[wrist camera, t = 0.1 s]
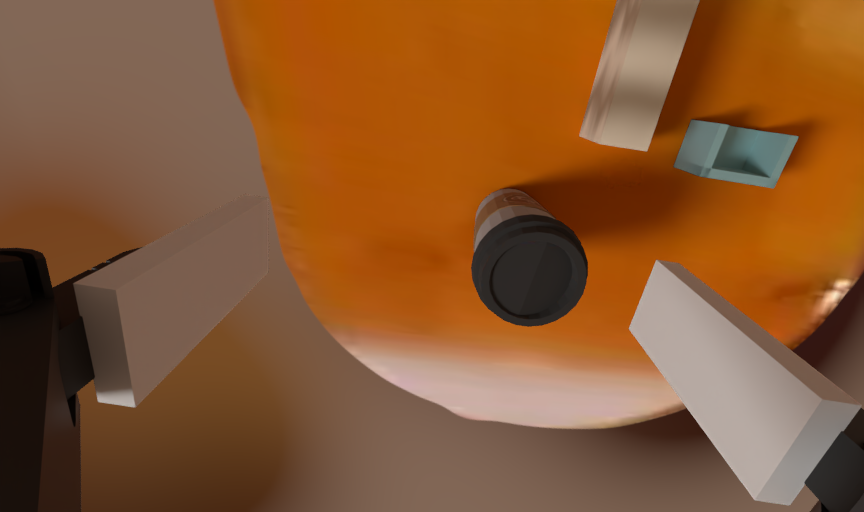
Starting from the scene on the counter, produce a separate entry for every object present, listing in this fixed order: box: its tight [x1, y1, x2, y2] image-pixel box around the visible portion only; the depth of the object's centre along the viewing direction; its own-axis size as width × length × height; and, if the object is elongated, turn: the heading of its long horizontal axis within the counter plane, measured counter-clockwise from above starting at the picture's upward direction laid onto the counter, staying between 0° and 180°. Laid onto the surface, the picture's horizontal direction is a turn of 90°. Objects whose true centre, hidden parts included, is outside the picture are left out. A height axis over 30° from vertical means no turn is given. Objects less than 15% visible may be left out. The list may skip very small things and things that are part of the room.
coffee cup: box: [471, 189, 588, 326], centre depth 35 cm, size 8×8×15 cm
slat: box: [579, 0, 700, 151], centre depth 32 cm, size 20×4×6 cm, turn 172°
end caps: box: [673, 120, 799, 188], centre depth 33 cm, size 23×7×4 cm, turn 171°
